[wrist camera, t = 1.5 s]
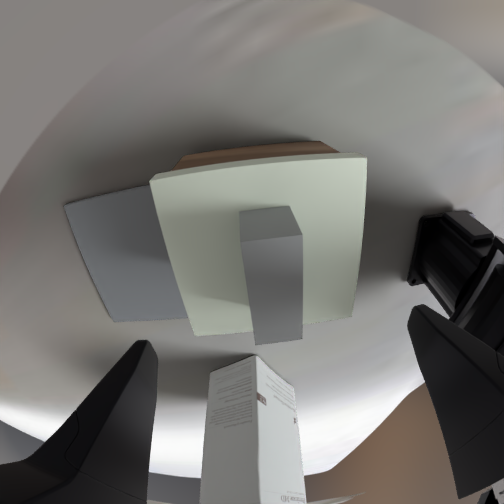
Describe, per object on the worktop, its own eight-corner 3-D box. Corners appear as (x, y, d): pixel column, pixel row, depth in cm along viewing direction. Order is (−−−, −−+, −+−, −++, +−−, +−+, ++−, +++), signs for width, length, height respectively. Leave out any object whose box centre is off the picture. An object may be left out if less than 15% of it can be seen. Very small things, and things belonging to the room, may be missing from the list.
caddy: (320, 255, 20) (341, 302, 15) (207, 268, 20) (200, 319, 15) (319, 140, 15) (351, 159, 11) (183, 155, 15) (163, 179, 11)
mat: (299, 302, 22) (300, 305, 22) (115, 318, 22) (113, 321, 22) (295, 164, 17) (296, 166, 16) (66, 203, 17) (63, 206, 16)
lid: (341, 294, 16) (366, 350, 12) (198, 311, 16) (190, 373, 12) (349, 148, 12) (398, 175, 8) (161, 168, 12) (127, 204, 8)
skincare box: (294, 385, 29) (314, 507, 16) (249, 402, 30) (257, 516, 18) (252, 350, 25) (265, 508, 12) (203, 371, 27) (197, 511, 14)
